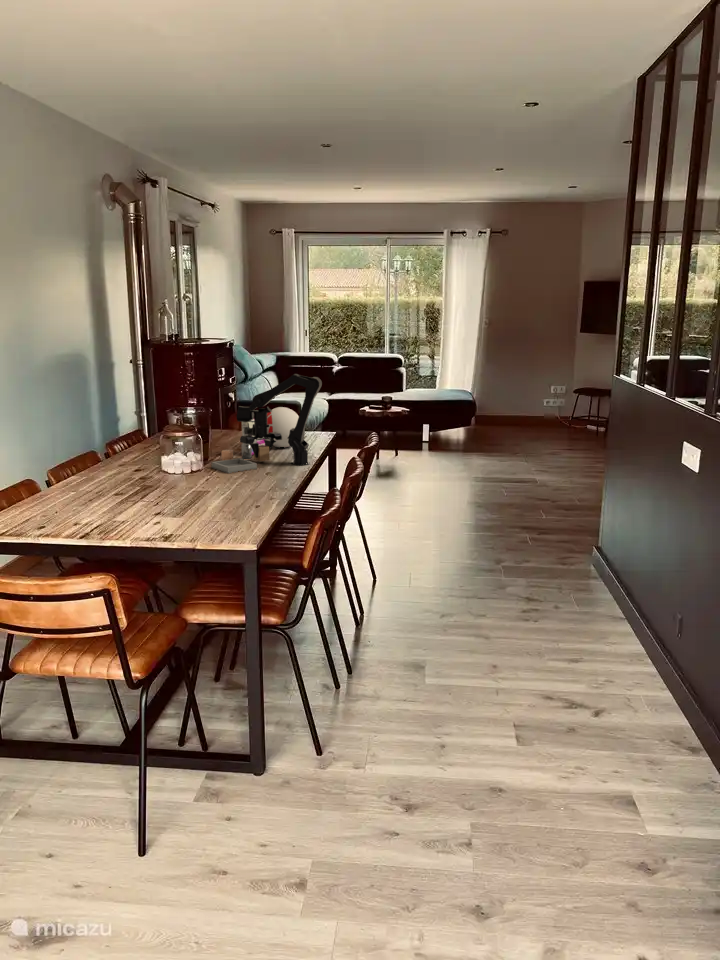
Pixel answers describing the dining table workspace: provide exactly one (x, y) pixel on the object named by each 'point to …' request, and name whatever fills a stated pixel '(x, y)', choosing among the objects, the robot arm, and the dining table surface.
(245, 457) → the steel cylinder
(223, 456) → the tan block
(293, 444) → the robot arm
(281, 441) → the decorative sphere
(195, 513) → the dining table surface
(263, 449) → the walnut block
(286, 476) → the dining table surface
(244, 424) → the candy bar box
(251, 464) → the charcoal tray
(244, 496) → the dining table surface
